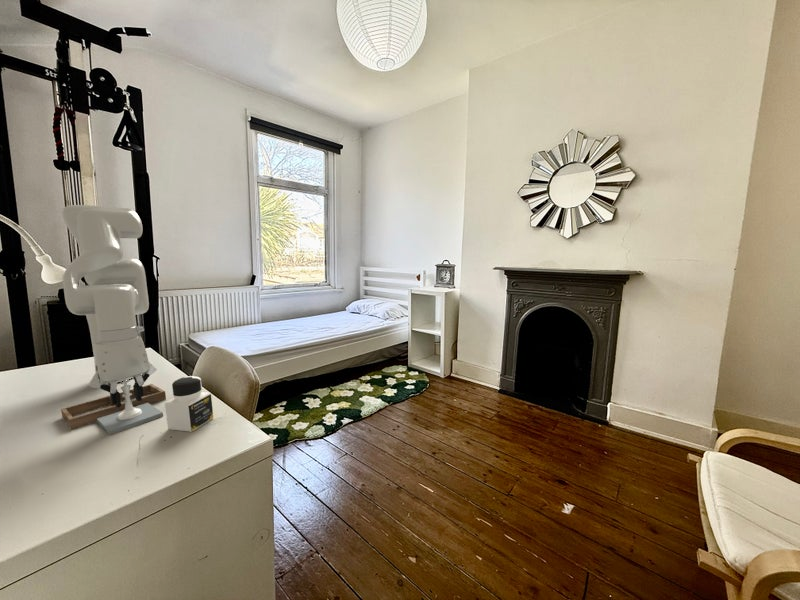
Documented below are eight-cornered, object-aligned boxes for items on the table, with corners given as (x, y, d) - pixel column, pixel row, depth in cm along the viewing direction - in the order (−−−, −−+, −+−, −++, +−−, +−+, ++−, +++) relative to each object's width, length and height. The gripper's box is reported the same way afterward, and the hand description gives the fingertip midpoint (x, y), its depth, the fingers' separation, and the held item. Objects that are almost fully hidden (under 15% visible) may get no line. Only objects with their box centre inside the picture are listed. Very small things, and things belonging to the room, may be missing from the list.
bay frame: (62, 417, 87) (60, 409, 87) (152, 391, 103) (151, 383, 103) (71, 429, 81) (69, 420, 81) (166, 399, 97) (165, 391, 97)
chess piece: (112, 419, 83) (106, 382, 82) (130, 410, 88) (125, 375, 87) (129, 420, 83) (123, 383, 81) (146, 411, 88) (141, 375, 86)
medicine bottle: (191, 432, 78) (186, 385, 77) (167, 429, 80) (161, 383, 78) (214, 418, 85) (209, 374, 84) (191, 415, 87) (186, 373, 85)
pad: (97, 422, 84) (96, 418, 84) (148, 405, 93) (147, 402, 93) (109, 434, 78) (109, 431, 78) (163, 416, 87) (162, 412, 87)
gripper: (152, 327, 91) (160, 388, 94) (69, 340, 78) (81, 411, 80) (162, 330, 87) (170, 394, 90) (77, 344, 74) (89, 420, 76)
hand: (128, 402), depth 85 cm, fingers open, 3 cm apart
